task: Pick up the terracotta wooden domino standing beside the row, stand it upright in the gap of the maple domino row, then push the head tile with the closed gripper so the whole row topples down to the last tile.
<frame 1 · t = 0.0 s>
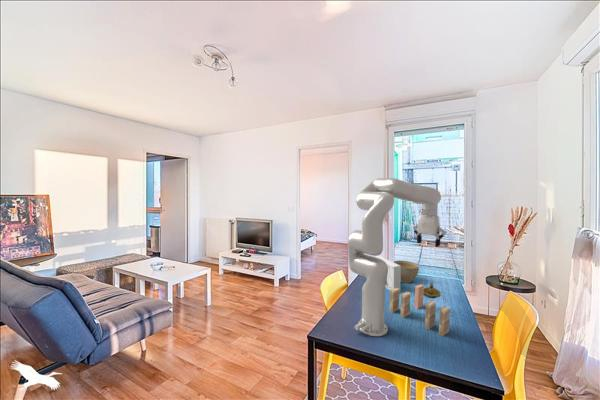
hand: (428, 244, 138), 31 cm above the table, tool pointing down, fingers open, 9 cm apart
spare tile: (418, 306, 134), on the table
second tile: (405, 315, 125), on the table
seal: (430, 293, 151), on the table
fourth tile: (429, 326, 115), on the table
last tile: (443, 333, 110), on the table
planter bowl: (405, 280, 170), on the table
head tile: (394, 310, 130), on the table
skincare box: (385, 285, 161), on the table
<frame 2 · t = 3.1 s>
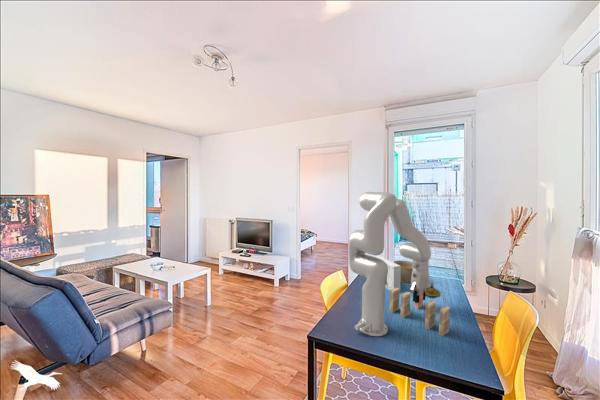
hand: (419, 300, 134), 3 cm above the table, tool pointing down, fingers closed on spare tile, 4 cm apart
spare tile: (418, 306, 134), on the table, touching gripper
everything else where it was.
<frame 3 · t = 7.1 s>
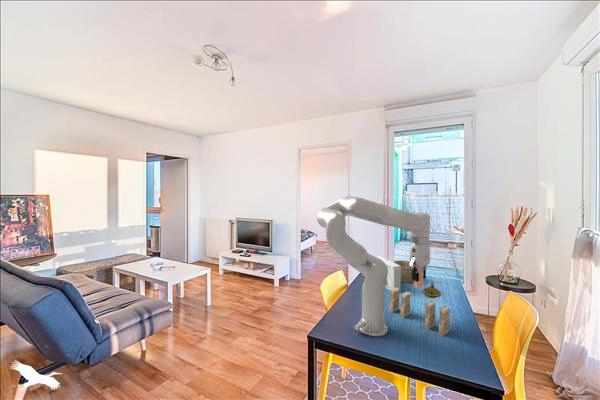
hand: (418, 278, 119), 20 cm above the table, tool pointing down, fingers closed on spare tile, 4 cm apart
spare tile: (418, 286, 119), point 17 cm above the table, touching gripper
everything else where it was.
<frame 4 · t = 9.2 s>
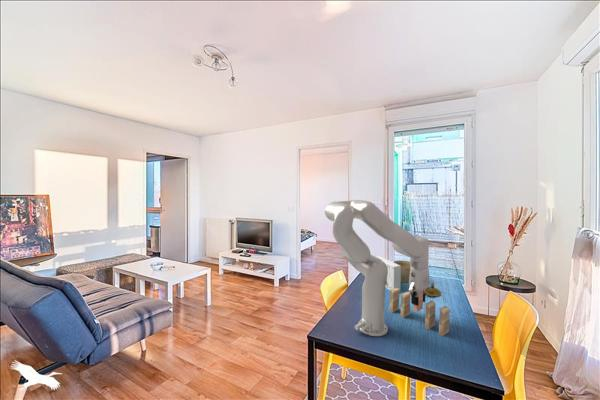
hand: (418, 302, 119), 9 cm above the table, tool pointing down, fingers closed on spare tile, 4 cm apart
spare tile: (418, 309, 120), point 5 cm above the table, touching gripper
everything else where it was.
when the fingers open (4 cm above the table, at t = 10.9 s): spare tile stays where it is, on the table.
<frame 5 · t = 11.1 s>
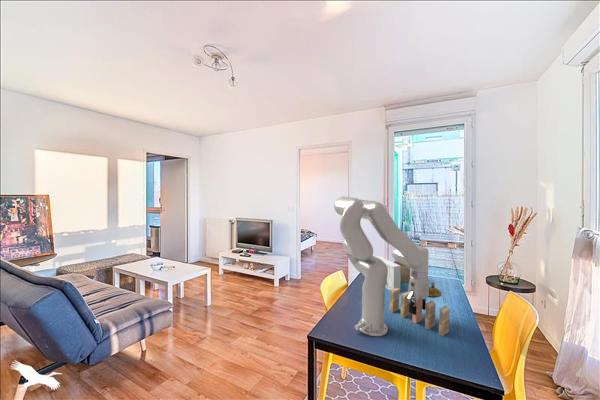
hand: (417, 310, 120), 5 cm above the table, tool pointing down, fingers open, 7 cm apart
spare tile: (417, 321, 120), on the table
everything else where it was.
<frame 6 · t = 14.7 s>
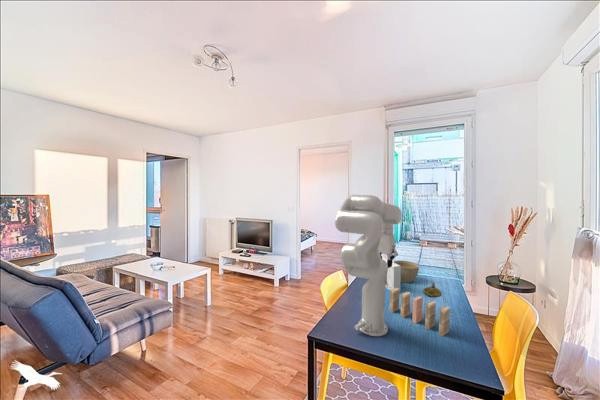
hand: (384, 265, 133), 21 cm above the table, tool pointing down, fingers open, 5 cm apart
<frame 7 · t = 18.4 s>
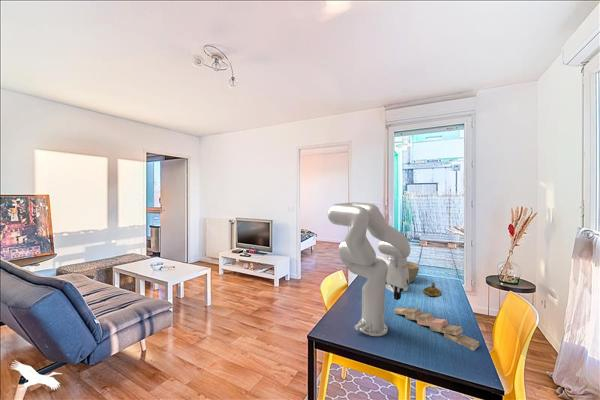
hand: (397, 298, 128), 7 cm above the table, tool pointing down, fingers closed
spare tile: (420, 320, 119), point 1 cm above the table, tilted 72°, touching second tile
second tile: (408, 315, 123), point 1 cm above the table, tilted 72°, touching head tile, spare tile
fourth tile: (433, 326, 114), point 1 cm above the table, tilted 73°, touching last tile
last tile: (446, 332, 109), point 1 cm above the table, tilted 90°, touching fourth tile
head tile: (397, 310, 128), point 1 cm above the table, tilted 72°, touching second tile
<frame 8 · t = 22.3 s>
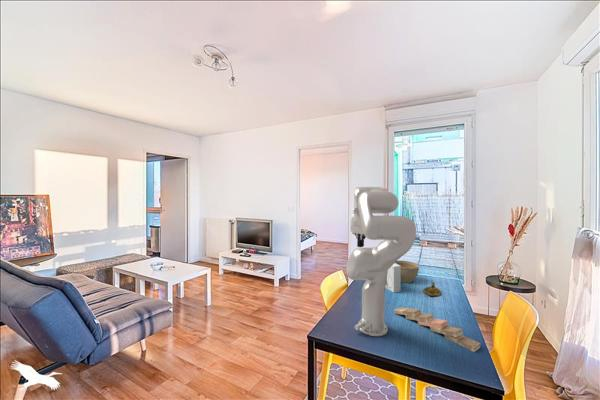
hand: (360, 246, 133), 31 cm above the table, tool pointing down, fingers closed
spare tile: (421, 320, 118), point 1 cm above the table, tilted 73°, touching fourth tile, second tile
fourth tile: (434, 327, 113), point 1 cm above the table, tilted 74°, touching last tile, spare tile
at the end: last tile tilted 90°; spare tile tilted 73°; the gripper is holding nothing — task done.
